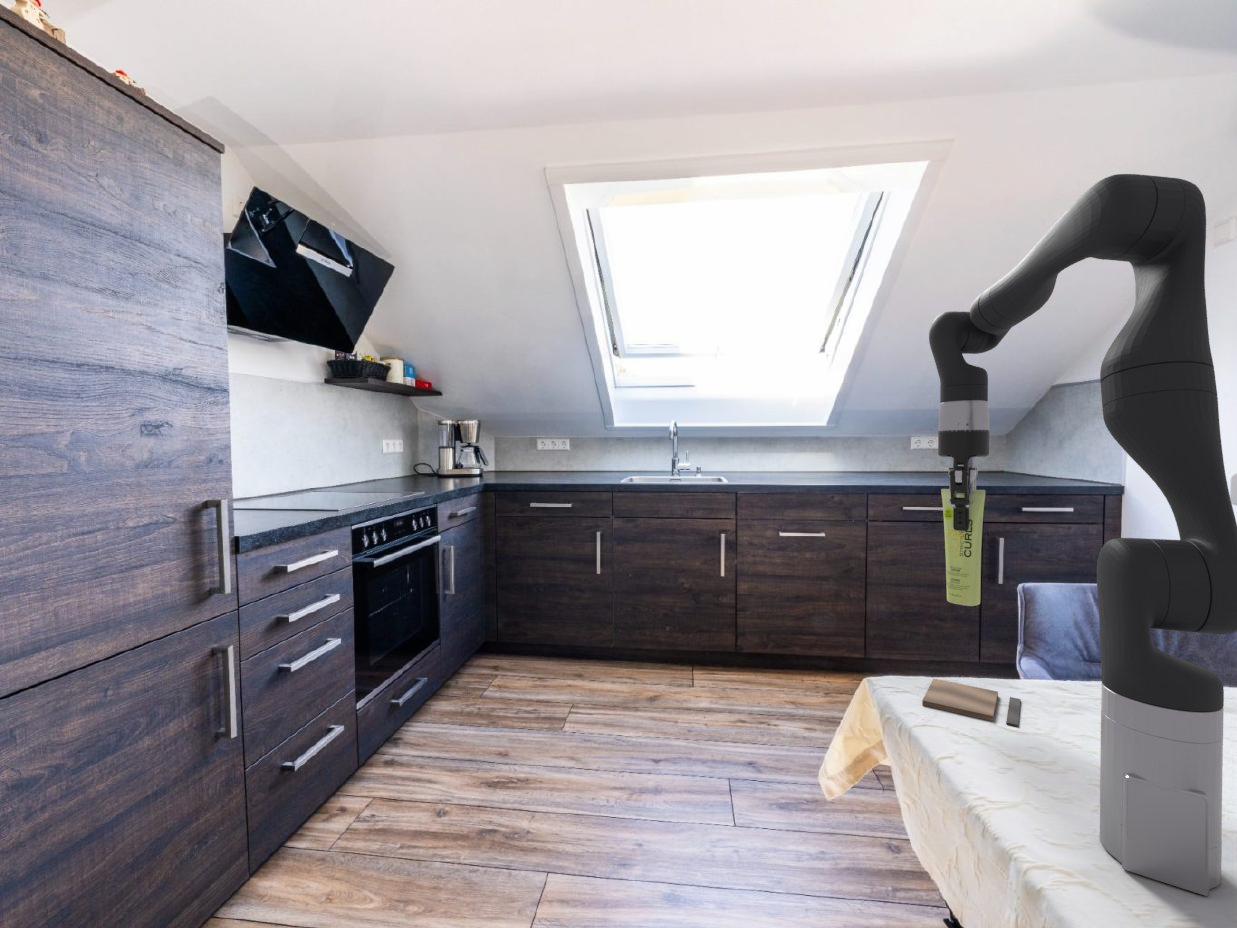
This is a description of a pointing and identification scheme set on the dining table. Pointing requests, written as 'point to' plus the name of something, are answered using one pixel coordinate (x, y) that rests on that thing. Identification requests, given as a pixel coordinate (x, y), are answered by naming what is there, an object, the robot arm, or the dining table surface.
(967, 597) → the tube
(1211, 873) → the robot arm
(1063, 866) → the dining table surface
